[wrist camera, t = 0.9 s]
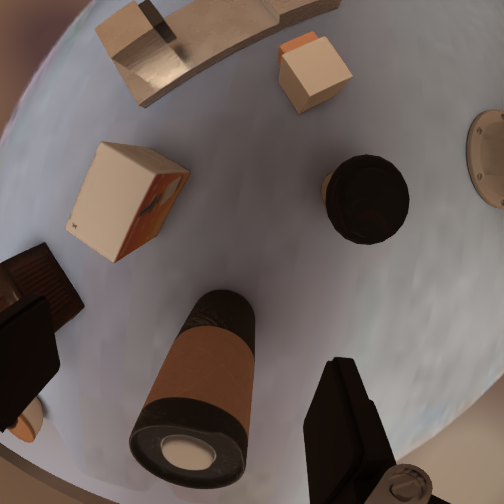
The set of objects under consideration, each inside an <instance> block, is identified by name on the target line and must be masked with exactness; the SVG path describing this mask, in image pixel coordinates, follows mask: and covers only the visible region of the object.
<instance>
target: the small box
mask: <svg viewBox="0 0 504 504" xmlns="http://www.w3.org/2000/svg"><path fill="white" fill-rule="evenodd" d="M189 175H190V172H189V171H188V170H186V169H185V168H183V167H181V166H180V165H178V164H176V163H175V162H173V161H171V160H169V159H168V158H166V157H164V156H162V155H161V154H159V153H157V152H155V151H154V150H152V149H150V148H145V147H139V146H132V145H126V144H118V143H111V142H104V141H102V142H100V144H99V147H98V149H97V151H96V154H95V156H94V159H93V161H92V163H91V165H90V168H89V170H88V172H87V175H86V177H85V179H84V182H83V184H82V187H81V189H80V192H79V194H78V197H77V199H76V202H75V204H74V207H73V209H72V212H71V214H70V217H69V219H68V221H67V224H66V226H65V229H66V230H67V231H69V232H70V233H71V234H73V235H74V236H75V237H77V238H78V239H80V240H81V241H82V242H84V243H85V244H87V245H88V246H89V247H91V248H92V249H94V250H95V251H97V252H98V253H99V254H101V255H102V256H104V257H105V258H107V259H108V260H110V261H111V262H113V263H116V262H117V261H119V260H120V259H122V258H123V257H125V256H126V255H128V254H129V253H131V252H132V251H134V250H135V249H137V248H139V247H140V246H142V245H143V244H145V243H146V242H148V241H150V240H151V239H153V238H154V237H156V236H157V235H158V233H159V230H160V228H161V226H162V224H163V222H164V220H165V218H166V216H167V214H168V212H169V210H170V209H171V207H172V205H173V203H174V201H175V200H176V198H177V196H178V194H179V192H180V191H181V189H182V187H183V185H184V184H185V182H186V180H187V178H188V177H189Z"/></svg>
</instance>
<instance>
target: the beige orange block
mask: <svg viewBox="0 0 504 504" xmlns="http://www.w3.org/2000/svg"><path fill="white" fill-rule="evenodd" d="M277 62H278V63H279V65H280V72H279V79H278V83H279V84H280V86H281V87H282V89H283V90H284V92H285V93H286V95H287V96H288V98H289V99H290V101H291V103H292V104H293V106H294V107H295V109H296V110H297V112H298V114H300V113H302V112H304V111H306V110H308V109H310V108H312V107H314V106H316V105H318V104H320V103H322V102H324V101H326V100H328V99H330V98H332V97H333V96H334V95H335V94H336V93H337V92H338V91H339V90H340V89H341V88H342V87H343V86H344V85H345V84H346V83H347V82H348V81H349V80H350V79H351V78H352V77H353V76H352V74H351V73H350V71H349V70H348V68H347V67H346V65H345V64H344V62H343V61H342V59H341V58H340V56H339V55H338V53H337V52H336V50H335V49H334V48H333V46H332V45H331V43H330V42H329V41H328V39H327V38H326V37H325V36H324V37H322V38H318V37H317V35H316V34H315V33H314V31H312V32H309V33H307V34H305V35H302V36H300V37H297V38H295V39H293V40H291V41H288V42H286V43H284V44H282V45H280V46H279V52H278V61H277Z"/></svg>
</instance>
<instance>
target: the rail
mask: <svg viewBox="0 0 504 504" xmlns="http://www.w3.org/2000/svg"><path fill="white" fill-rule="evenodd" d="M340 3H341V0H196V1H194V2H192V3H190V4H188V5H186V6H185V7H183V8H181V9H179V10H178V11H176V12H174V13H172V14H171V15H169V16H167V17H166V18H163V17H162V16H161V14H160V13H159V12H158V10H157V9H156V8H155V6H154V5H153V4H152V3H151V1H150V0H145V1H144V2H142V3H140V4H139V5H138V4H137V3H136V2H135V1H134V0H133V1H132V2H130V3H129V4H128V5H126V6H125V7H123V8H122V9H120V10H119V11H118V12H116V13H115V14H113V15H112V16H111V17H109V18H108V19H107V20H105V21H104V22H103V23H101V24H100V25H99V26H98V27H96V28H95V31H96V33H97V35H98V36H99V38H100V40H101V42H102V43H103V45H104V47H105V49H106V51H107V52H108V54H109V56H110V58H111V59H112V61H113V62H114V64H115V66H116V68H117V69H118V71H119V73H120V75H121V76H122V78H123V80H124V81H125V83H126V85H127V87H128V88H129V90H130V92H131V94H132V95H133V97H134V99H135V100H136V102H137V104H138V105H139V106H141V107H144V108H147V107H148V106H149V105H151V104H152V103H154V102H155V101H156V100H158V99H159V98H161V97H162V96H164V95H165V94H167V93H168V92H170V91H171V90H173V89H174V88H176V87H177V86H179V85H180V84H182V83H183V82H185V81H186V80H188V79H190V78H191V77H193V76H194V75H196V74H198V73H199V72H201V71H203V70H204V69H206V68H208V67H209V66H211V65H213V64H215V63H216V62H218V61H220V60H222V59H224V58H225V57H227V56H229V55H231V54H233V53H235V52H237V51H238V50H240V49H242V48H244V47H246V46H248V45H250V44H252V43H254V42H256V41H258V40H260V39H263V38H265V37H267V36H269V35H271V34H273V33H275V32H278V31H280V30H282V29H285V28H287V27H289V26H292V25H294V24H296V23H299V22H301V21H304V20H306V19H309V18H312V17H314V16H317V15H320V14H322V13H325V12H328V11H331V10H334V9H337V8H338V7H339V5H340Z"/></svg>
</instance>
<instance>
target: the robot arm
mask: <svg viewBox="0 0 504 504" xmlns="http://www.w3.org/2000/svg"><path fill="white" fill-rule="evenodd" d="M467 162H468V167H469V172H470V175H471V179H472V182H473V184H474V186H475V188H476V190H477V191H478V193H479V195H480V196H481V197H482V198H483V199H484V200H485V202H487V203H488V204H490V205H491V206H493V207H496V208H500V209H504V112H503V111H500V110H490V111H485V112H483V113H482V114H480V115H479V116H478V117H477V118H476V119H475V121H474V122H473V124H472V126H471V129H470V132H469V136H468V141H467ZM59 368H60V360H59V355H58V350H57V345H56V340H55V334H54V328H53V322H52V315H51V307H50V303H49V302H48V300H47V298H46V297H45V296H44V295H41V294H38V293H35V292H30V293H28V294H27V295H25V296H24V297H22V298H21V299H19V300H18V301H16V302H15V303H13V304H12V305H10V306H9V307H7V308H6V309H4V310H3V311H1V312H0V431H1V432H2V433H3V432H4V430H5V429H6V428H7V427H11V426H12V425H13V423H14V422H15V421H16V420H17V418H18V417H19V416H20V415H21V414H22V412H23V411H24V410H25V409H26V408H27V407H28V405H29V404H30V403H31V402H32V401H33V399H34V398H35V397H36V396H37V395H38V394H39V392H40V391H41V390H42V389H43V388H44V387H45V386H46V384H47V383H48V382H49V381H50V380H51V379H52V378H53V377H54V375H55V374H56V373H57V372H58V371H59ZM303 432H304V442H305V452H306V463H307V474H308V485H309V497H310V504H450V503H448V502H446V501H444V500H442V499H440V498H438V497H436V496H434V495H432V494H431V493H432V489H433V488H432V481H431V480H430V477H429V476H428V475H427V473H425V472H424V470H422V469H420V468H419V467H417V466H414V465H411V464H399V465H397V464H396V461H395V458H394V455H393V453H392V450H391V447H390V444H389V441H388V438H387V436H386V433H385V430H384V428H383V425H382V422H381V419H380V417H379V414H378V412H377V409H376V406H375V404H374V402H373V401H372V400H369V398H368V395H367V393H366V390H365V387H364V385H363V382H362V380H361V377H360V374H359V372H358V369H357V367H356V364H355V362H354V360H353V359H352V358H343V357H334V358H333V360H332V361H327V363H326V365H325V368H324V371H323V373H322V376H321V379H320V381H319V384H318V387H317V389H316V392H315V395H314V397H313V400H312V402H311V405H310V407H309V410H308V412H307V415H306V417H305V420H304V425H303ZM0 504H119V503H116V502H113V501H111V500H108V499H106V498H103V497H101V496H98V495H96V494H93V493H91V492H88V491H86V490H84V489H82V488H79V487H77V486H75V485H73V484H71V483H68V482H67V481H64V480H63V479H61V478H58V477H56V476H55V475H52V474H51V473H49V472H47V471H45V470H43V469H41V468H40V467H38V466H36V465H35V464H32V463H31V462H29V461H28V460H26V459H24V458H23V457H21V456H20V455H18V454H16V453H15V452H13V451H12V450H10V449H8V448H7V447H6V446H4V445H3V444H1V443H0Z"/></svg>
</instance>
